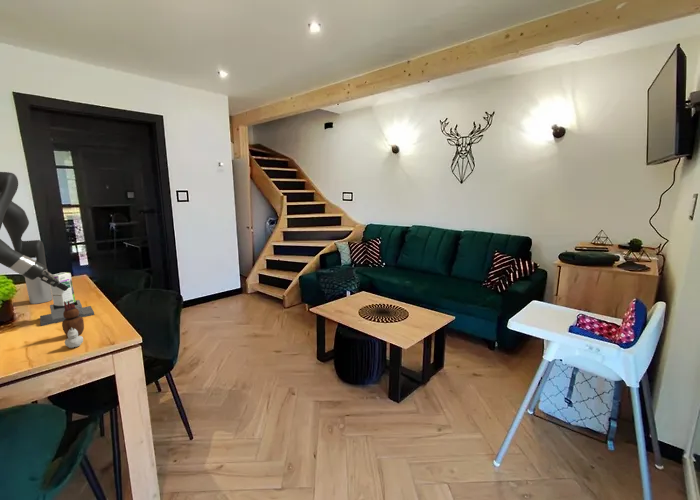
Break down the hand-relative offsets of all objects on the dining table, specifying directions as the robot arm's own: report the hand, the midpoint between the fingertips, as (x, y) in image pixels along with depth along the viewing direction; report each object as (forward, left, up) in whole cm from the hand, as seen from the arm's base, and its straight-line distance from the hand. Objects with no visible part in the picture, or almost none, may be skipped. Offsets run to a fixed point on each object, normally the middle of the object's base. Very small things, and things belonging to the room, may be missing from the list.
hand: (66, 287), depth 158 cm
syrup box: (0, -2, -8) cm, 8 cm away
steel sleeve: (0, -1, -14) cm, 14 cm away
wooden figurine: (+30, -1, -14) cm, 33 cm away
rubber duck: (+43, -2, -14) cm, 45 cm away
